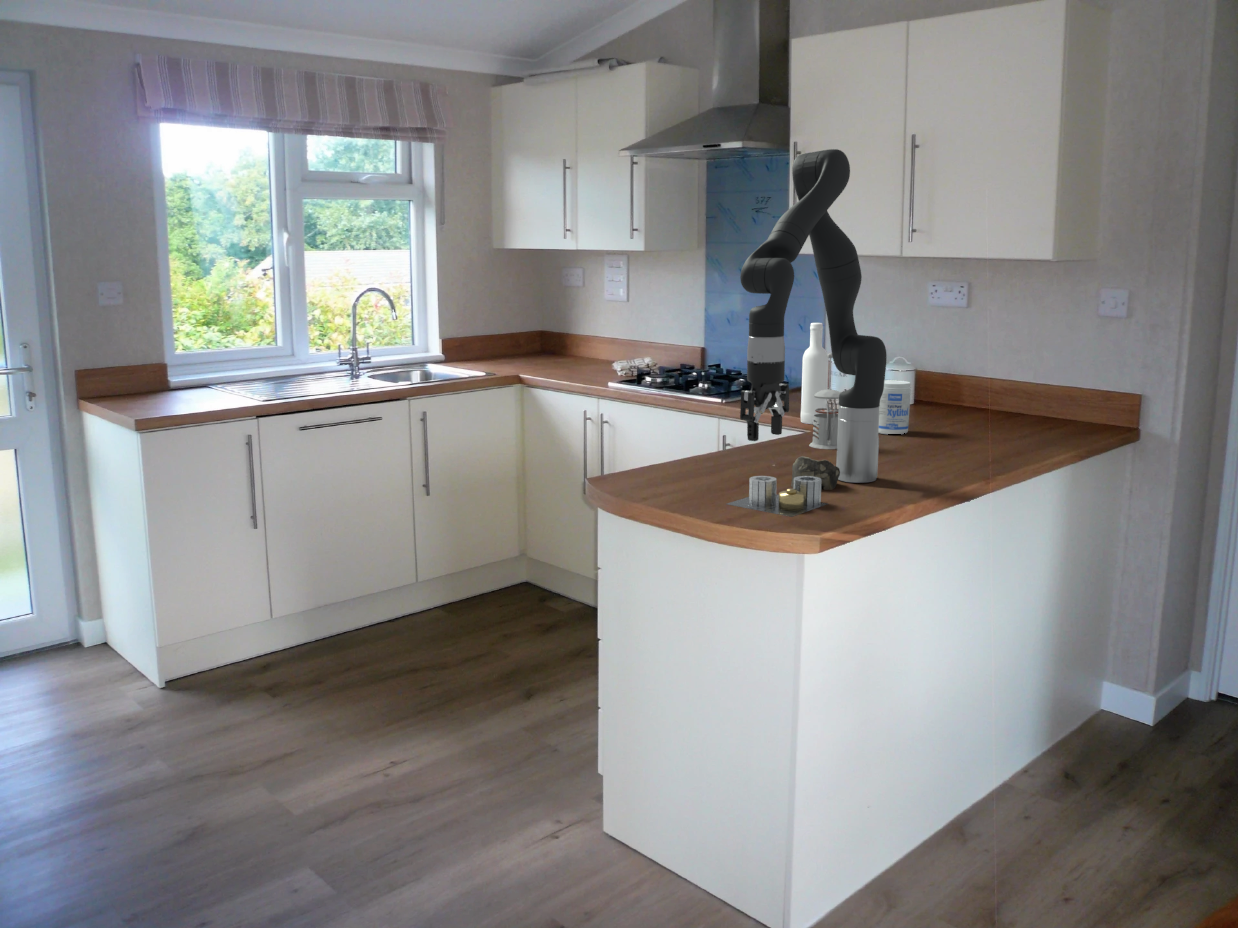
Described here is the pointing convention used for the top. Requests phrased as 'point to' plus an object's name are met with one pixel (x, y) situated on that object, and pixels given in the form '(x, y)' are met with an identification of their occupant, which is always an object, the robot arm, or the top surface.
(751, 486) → the planet gear
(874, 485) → the top surface
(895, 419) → the supplement tub
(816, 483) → the grey hollow pipe
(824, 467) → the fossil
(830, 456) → the top surface
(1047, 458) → the top surface
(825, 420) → the french press
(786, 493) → the carrier
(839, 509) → the top surface
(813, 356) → the bottle
